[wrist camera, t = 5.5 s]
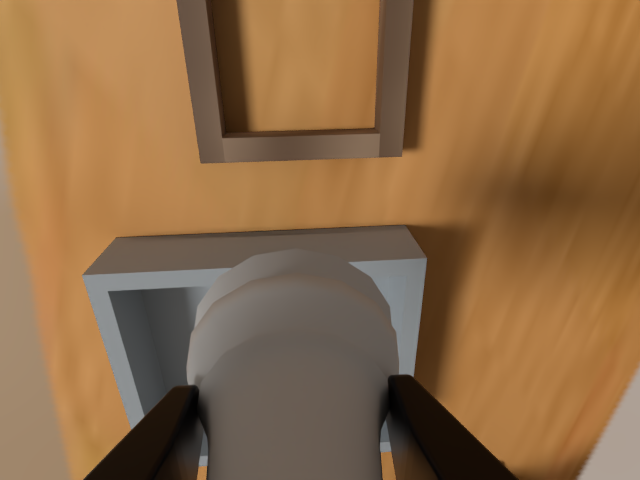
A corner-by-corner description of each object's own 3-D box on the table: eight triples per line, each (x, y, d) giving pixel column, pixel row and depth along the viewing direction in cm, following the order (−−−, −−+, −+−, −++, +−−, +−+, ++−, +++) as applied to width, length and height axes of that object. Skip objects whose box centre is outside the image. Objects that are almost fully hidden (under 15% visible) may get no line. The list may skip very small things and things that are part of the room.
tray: (405, 224, 20) (427, 258, 17) (390, 399, 25) (405, 450, 22) (116, 237, 19) (82, 275, 16) (163, 415, 24) (144, 470, 21)
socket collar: (410, -84, 14) (420, -95, 13) (395, 150, 18) (402, 156, 17) (172, -85, 14) (162, -96, 13) (205, 156, 18) (200, 163, 17)
